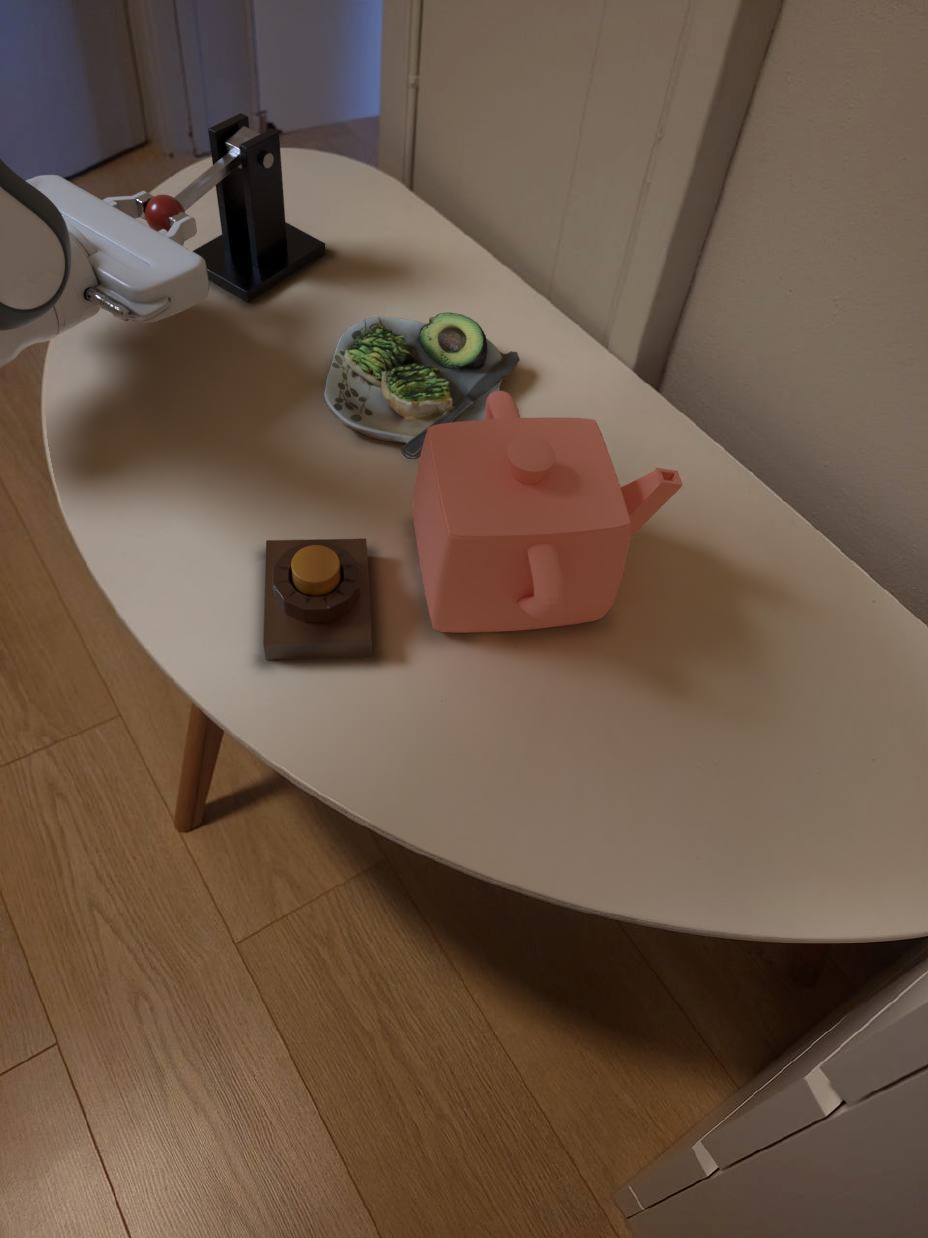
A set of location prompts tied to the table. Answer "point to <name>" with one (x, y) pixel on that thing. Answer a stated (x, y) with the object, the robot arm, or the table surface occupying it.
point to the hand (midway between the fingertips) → (171, 211)
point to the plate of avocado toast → (413, 376)
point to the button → (315, 570)
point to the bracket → (254, 219)
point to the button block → (317, 605)
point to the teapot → (524, 520)
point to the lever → (197, 184)
